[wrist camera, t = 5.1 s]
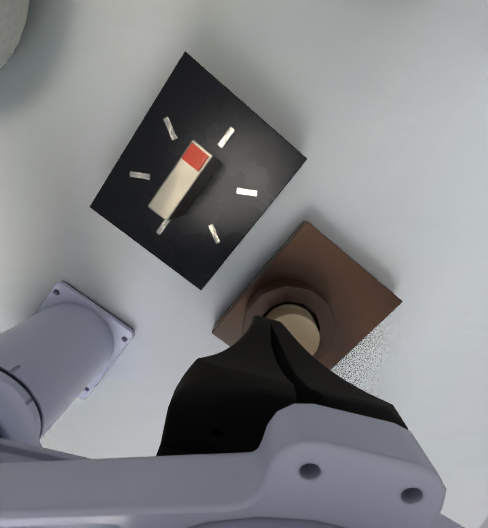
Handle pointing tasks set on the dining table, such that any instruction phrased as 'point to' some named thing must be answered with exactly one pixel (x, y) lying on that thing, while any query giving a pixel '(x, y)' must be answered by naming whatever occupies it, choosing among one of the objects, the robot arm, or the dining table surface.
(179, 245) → the dimmer
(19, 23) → the cereal bowl
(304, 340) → the lamp button
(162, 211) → the dimmer knob
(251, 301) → the lamp switch
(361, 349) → the dining table surface
